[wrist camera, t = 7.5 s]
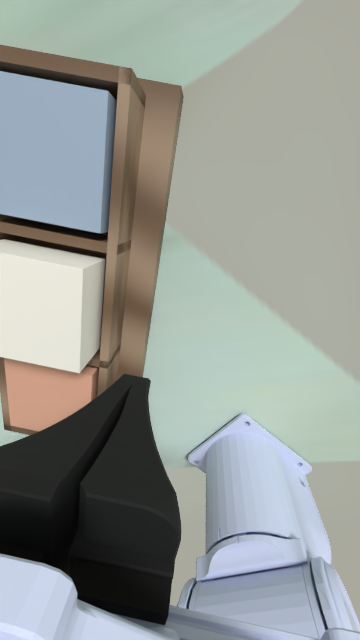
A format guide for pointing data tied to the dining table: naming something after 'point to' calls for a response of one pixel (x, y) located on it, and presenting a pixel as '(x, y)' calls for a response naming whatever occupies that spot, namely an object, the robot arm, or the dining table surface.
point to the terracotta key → (46, 393)
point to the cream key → (49, 305)
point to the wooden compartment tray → (113, 206)
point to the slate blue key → (56, 152)
